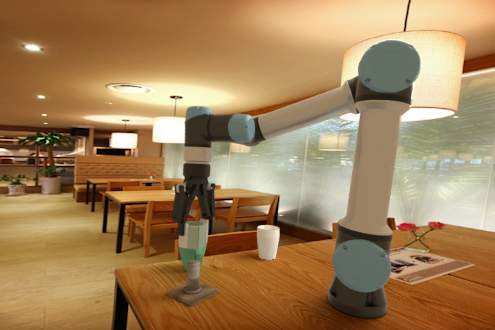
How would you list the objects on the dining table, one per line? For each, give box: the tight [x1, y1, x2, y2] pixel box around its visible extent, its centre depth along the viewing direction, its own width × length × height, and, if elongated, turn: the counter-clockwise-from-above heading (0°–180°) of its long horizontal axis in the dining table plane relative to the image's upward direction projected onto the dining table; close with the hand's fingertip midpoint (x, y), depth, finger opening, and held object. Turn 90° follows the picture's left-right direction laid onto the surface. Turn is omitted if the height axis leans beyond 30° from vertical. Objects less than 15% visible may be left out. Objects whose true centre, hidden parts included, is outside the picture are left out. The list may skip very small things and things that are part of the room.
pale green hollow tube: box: [186, 220, 207, 249], centre depth 82 cm, size 7×7×6 cm
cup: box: [256, 224, 280, 261], centre depth 116 cm, size 9×9×12 cm
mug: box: [177, 239, 208, 271], centre depth 98 cm, size 15×10×10 cm
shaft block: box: [166, 260, 219, 307], centre depth 82 cm, size 10×10×9 cm
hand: (193, 244), depth 82 cm, fingers closed on pale green hollow tube, 7 cm apart
